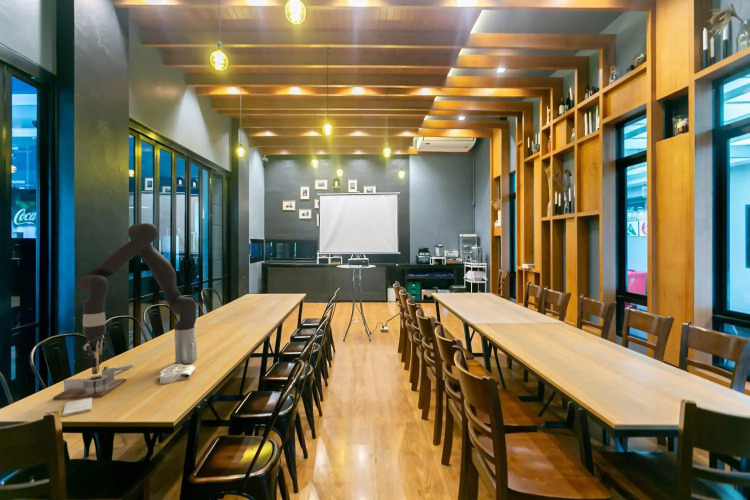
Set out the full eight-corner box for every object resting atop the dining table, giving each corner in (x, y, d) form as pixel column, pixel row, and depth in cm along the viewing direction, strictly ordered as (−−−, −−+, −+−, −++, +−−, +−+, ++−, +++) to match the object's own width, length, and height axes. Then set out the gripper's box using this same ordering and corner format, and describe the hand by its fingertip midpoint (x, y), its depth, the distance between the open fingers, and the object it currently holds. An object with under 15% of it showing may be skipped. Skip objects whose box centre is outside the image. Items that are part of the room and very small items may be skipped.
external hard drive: (92, 401, 150) (91, 412, 140) (65, 406, 145) (62, 418, 135) (92, 397, 150) (90, 408, 140) (65, 402, 145) (62, 413, 135)
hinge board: (126, 380, 170) (126, 378, 170) (102, 396, 153) (102, 394, 153) (82, 383, 168) (82, 380, 168) (53, 399, 151) (53, 397, 151)
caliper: (104, 381, 170) (103, 367, 170) (101, 381, 170) (101, 367, 170) (133, 367, 191) (133, 354, 191) (131, 367, 191) (131, 354, 191)
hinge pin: (100, 372, 158) (99, 343, 158) (96, 374, 156) (96, 344, 156) (94, 372, 158) (93, 343, 158) (90, 374, 155) (89, 345, 155)
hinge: (122, 379, 169) (122, 368, 169) (101, 393, 153) (100, 381, 153) (83, 381, 168) (83, 370, 167) (57, 395, 152) (57, 383, 152)
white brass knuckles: (188, 382, 169) (151, 385, 165) (197, 369, 186) (164, 372, 183) (188, 374, 169) (151, 377, 165) (197, 362, 186) (164, 365, 183)
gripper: (93, 327, 150) (94, 371, 150) (113, 320, 164) (114, 360, 164) (73, 327, 149) (74, 372, 149) (95, 320, 163) (96, 361, 163)
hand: (95, 365), depth 157 cm, fingers closed on hinge pin, 2 cm apart
